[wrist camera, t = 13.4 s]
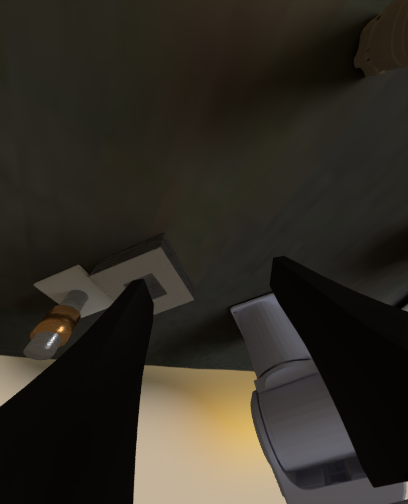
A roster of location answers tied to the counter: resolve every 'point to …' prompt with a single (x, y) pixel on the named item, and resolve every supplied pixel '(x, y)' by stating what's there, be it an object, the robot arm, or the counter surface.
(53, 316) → the amber medicine bottle
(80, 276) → the mat
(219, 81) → the counter surface
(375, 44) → the handle
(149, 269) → the block
